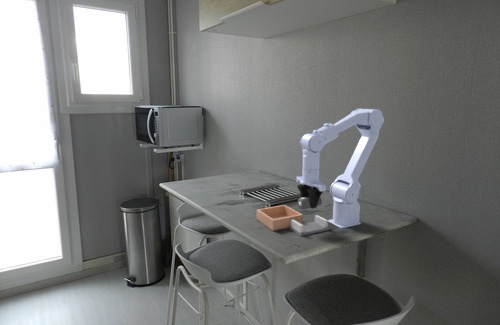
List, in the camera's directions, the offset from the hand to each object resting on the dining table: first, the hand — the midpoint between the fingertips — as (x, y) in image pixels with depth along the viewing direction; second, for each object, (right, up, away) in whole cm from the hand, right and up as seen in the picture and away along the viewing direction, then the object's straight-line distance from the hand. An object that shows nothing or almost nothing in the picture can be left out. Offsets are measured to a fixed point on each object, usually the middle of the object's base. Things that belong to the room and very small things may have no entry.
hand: (309, 205), depth 117 cm
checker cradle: (0, -9, +2) cm, 9 cm away
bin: (-10, -7, +9) cm, 15 cm away
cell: (0, +1, 0) cm, 1 cm away
